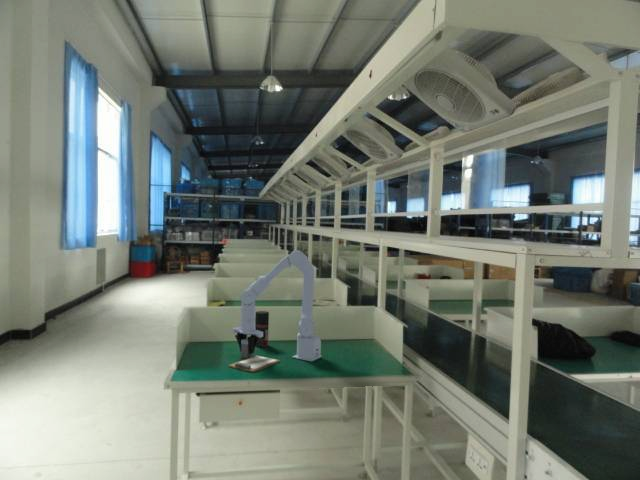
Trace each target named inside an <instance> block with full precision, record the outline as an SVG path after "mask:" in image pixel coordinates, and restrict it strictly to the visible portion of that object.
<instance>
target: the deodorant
mask: <svg viewBox="0 0 640 480" xmlns="http://www.w3.org/2000/svg"><path fill="white" fill-rule="evenodd" d="M269 316H270V312H269V311H266V310H258V311H255V330H258V331H261V332H263V337H260V338H259V340H258V342H257V344H256V346H255V348H266V346H267V347H268V346H269V325H270V323H269V321H270V320H269V318H270V317H269Z"/></svg>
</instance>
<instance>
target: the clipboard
mask: <svg viewBox="0 0 640 480" xmlns="http://www.w3.org/2000/svg"><path fill="white" fill-rule="evenodd" d="M280 362H281V360H280V359H276V358H270V357H266V356H261V355H257V354H256V355H253V356H252V357H250V358H243V359H242V360H239V361H236V362H234V363H231V364H229V365H228V367H229V368H232V369H236V370H241V371H245V372H249V373H257V372H259V371H262V370H264V369H266V368H268V367H270V366H273V365H275V364H278V363H280Z"/></svg>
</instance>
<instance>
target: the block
mask: <svg viewBox="0 0 640 480" xmlns="http://www.w3.org/2000/svg"><path fill="white" fill-rule="evenodd" d="M252 356H254V353H252V354H249V343H248V339H247V338H246V339H242V340H241V352H240V358H243V359H247V358H250V357H252Z"/></svg>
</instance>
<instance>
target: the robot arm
mask: <svg viewBox="0 0 640 480" xmlns="http://www.w3.org/2000/svg"><path fill="white" fill-rule="evenodd" d="M291 266H293V267H295V268H297V269H298V270H299V271H300V272H301V273H302V274H303V278H302V279H303V282H302V283H303V284H302V297H301V298H302V299H301V314H300V315H301V317H300V320H299V321H298V333H297V334H296V335H297V337H296V354H295V355H293V356H292V358H294V359H298V360H303V361H306V362H307V361H308V362H314V361H316V360H318V359H320V358H322V357H323V355H321V354H322V351H321V350H322V341H321V339H320V338H319V337H317V336H316V334H315V333H314V332H315V326H314V321H313V313H314V312H313V310H314V291H315V290H314V289H315V272H316V271H315V268H314V266H313V264H312V263H311V261H310V260H309V258H308V256H307V255H306V254H305V253H303V251H301V250H299V249H296V250H293V251H291V252H290V254H287V255H286V256H285V257H283V258H281V259H280V261H278V262H277V263H276V264H275V266H273V268H271V269H270V271H268V272H267V273H266V275H259V276H257V277H255V278H254V280H255V281H253V282H252V283H251V284H250V285H248V286H247V287H246V289H245V290H243V292H242V293H241V295H240V301H241V305H240V306H241V308H240V327H237V326H235V327H232V333H233V334H235V333H236V334H235V335H234V337H235V338H236V341H237V344H238V347H239V351H240V353H241V340H242V339H246V338H247V339H248V343H249V354H252V353H253V354H254V353H255V349H256V344H257V342H258V340H259V338H260V337H263V332H261V331H258V330H255V316H256V300H257V298H258V297H260V296H261V295H263V294H264V292H265V291H267V290H268V288H270V286H271V282H272V280H273V279H275V278H276V277H277V276H278V275H279V274H280V273H281V272H283V270H284V269H288V268H289V269H290V268H291Z"/></svg>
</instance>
